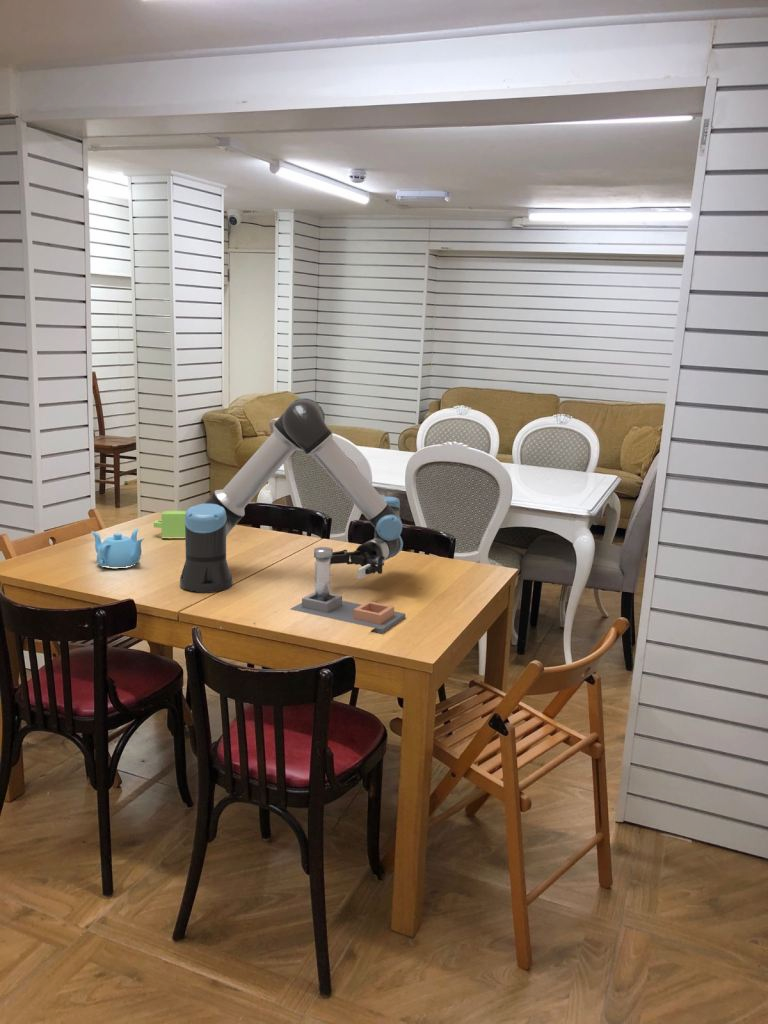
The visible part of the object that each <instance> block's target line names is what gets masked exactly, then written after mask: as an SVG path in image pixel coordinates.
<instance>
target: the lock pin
mask: <svg viewBox="0 0 768 1024" xmlns="http://www.w3.org/2000/svg"><path fill="white" fill-rule="evenodd" d="M333 552H334V550H333V548H331V547H328V546H327V547H326V546H319V547H315V548H314V549H313V558H314V559H315V561H316V571H315V570H314V571H315V573H314V574H315V575H314V577H315V579H314V592H315V600H319V601H324V602H326V601H328V600H330V594H331V592H330V591H331V590H330V589H331V564H330V562H331V558H332V557H333Z"/></svg>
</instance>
